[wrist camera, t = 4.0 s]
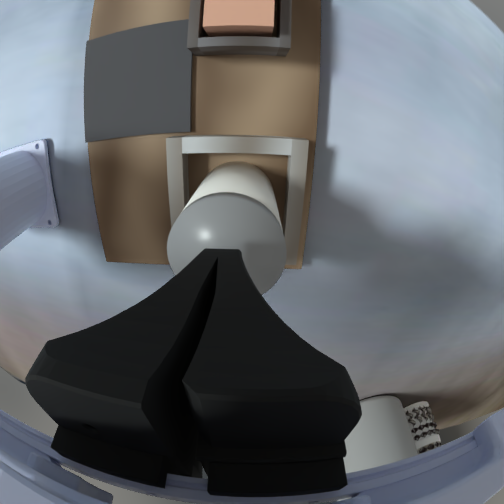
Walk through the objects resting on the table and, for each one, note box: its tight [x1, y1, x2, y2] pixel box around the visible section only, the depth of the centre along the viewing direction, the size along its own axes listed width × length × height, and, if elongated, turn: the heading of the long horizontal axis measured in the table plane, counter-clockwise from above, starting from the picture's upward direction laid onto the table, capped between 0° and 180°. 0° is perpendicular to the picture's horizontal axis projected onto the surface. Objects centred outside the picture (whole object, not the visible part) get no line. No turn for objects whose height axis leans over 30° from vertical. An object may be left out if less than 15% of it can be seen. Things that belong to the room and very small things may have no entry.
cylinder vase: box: [338, 396, 418, 501], centre depth 25 cm, size 12×12×25 cm
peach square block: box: [203, 0, 275, 37], centre depth 11 cm, size 4×4×3 cm
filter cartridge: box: [167, 161, 287, 295], centre depth 15 cm, size 5×5×8 cm
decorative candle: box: [403, 401, 441, 454], centre depth 27 cm, size 9×9×25 cm
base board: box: [88, 0, 321, 269], centre depth 15 cm, size 16×22×4 cm
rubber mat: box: [84, 19, 193, 142], centre depth 14 cm, size 8×8×1 cm
